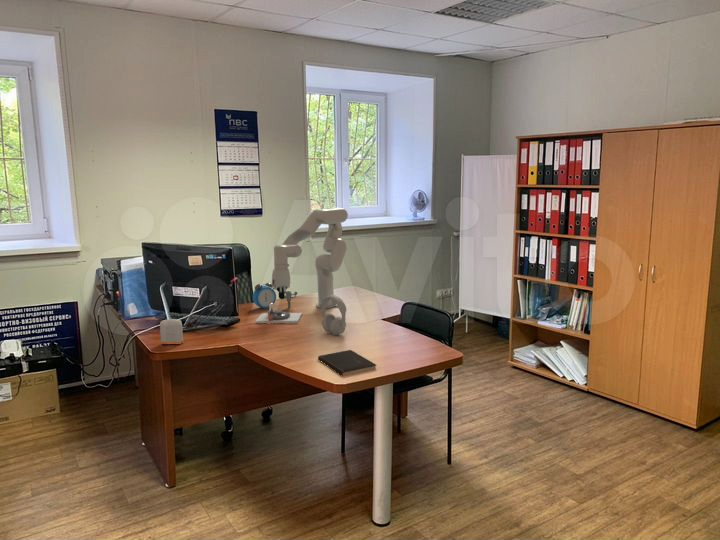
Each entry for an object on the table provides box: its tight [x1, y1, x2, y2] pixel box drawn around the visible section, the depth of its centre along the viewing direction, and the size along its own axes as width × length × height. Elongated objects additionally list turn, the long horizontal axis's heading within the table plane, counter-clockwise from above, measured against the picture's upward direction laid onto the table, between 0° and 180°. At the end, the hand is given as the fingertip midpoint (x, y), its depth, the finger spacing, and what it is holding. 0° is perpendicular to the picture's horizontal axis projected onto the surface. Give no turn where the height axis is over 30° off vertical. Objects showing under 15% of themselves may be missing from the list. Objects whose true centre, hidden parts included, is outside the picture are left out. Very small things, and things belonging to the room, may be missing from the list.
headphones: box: [320, 294, 347, 336], centre depth 275 cm, size 18×8×20 cm, turn 39°
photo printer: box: [159, 318, 184, 343], centre depth 265 cm, size 10×4×12 cm, turn 94°
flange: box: [267, 303, 291, 319], centre depth 307 cm, size 15×12×6 cm
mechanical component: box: [284, 290, 298, 309], centre depth 332 cm, size 3×10×10 cm, turn 89°
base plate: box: [254, 312, 303, 325], centre depth 306 cm, size 23×17×4 cm
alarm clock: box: [252, 282, 277, 310], centre depth 333 cm, size 13×6×15 cm, turn 125°
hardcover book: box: [317, 349, 378, 377], centre depth 233 cm, size 16×23×2 cm
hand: (281, 298), depth 315 cm, fingers closed
